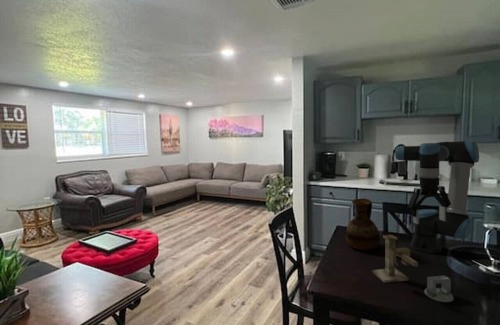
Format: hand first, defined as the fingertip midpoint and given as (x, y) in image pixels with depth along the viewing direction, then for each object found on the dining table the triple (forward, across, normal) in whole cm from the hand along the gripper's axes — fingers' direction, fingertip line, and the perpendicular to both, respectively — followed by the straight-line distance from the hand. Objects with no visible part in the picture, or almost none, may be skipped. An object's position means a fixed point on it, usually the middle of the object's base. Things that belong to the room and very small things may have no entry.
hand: (429, 221), depth 126 cm
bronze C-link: (+17, +17, +3) cm, 25 cm away
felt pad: (+26, +8, +14) cm, 31 cm away
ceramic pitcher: (+28, +10, -41) cm, 50 cm away
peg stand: (+26, +18, +2) cm, 32 cm away
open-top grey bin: (+26, +8, +14) cm, 31 cm away
